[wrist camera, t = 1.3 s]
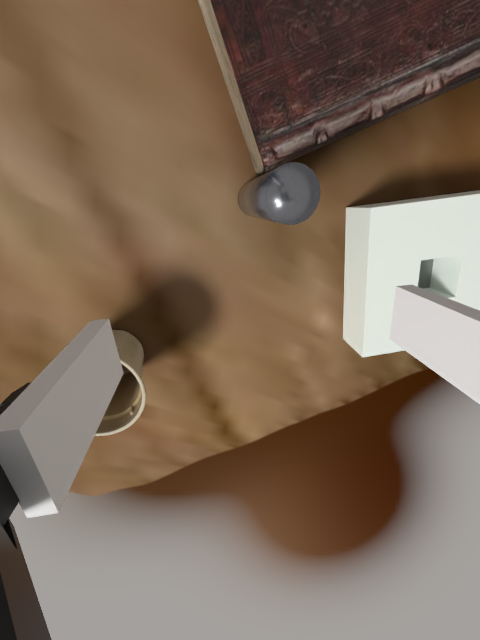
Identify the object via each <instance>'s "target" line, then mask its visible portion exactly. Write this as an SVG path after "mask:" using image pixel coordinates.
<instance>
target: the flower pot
mask: <svg viewBox="0 0 480 640" xmlns="http://www.w3.org/2000/svg"><path fill="white" fill-rule="evenodd" d="M112 332H113V336H114V339H115V343H116V347H117V351H118V354H119V358H120V362H121V365H122V369H123V376H122V378H121V380H120V382H119V384H118V386H117V388H116V391H115V393H114V395H113V397H112V399H111V401H110V403H109V406H108V408H107V410H106V412H105V414H104V416H103V418H102V421H101V423H100V425H99V427H98V429H97V431H96V434H95V436H104V435H111V434H115V433H118V432H120V431H123V430H124V429H126V428H128V427H130V426H131V425H132V424H133V423H134V422H135V421H136V420H137V419H138V418H139V417H140V415H141V413H142V412H143V409H144V406H145V402H146V390H145V386H144V383H143V381H142V367H143V359H144V352H143V348H142V345H141V343H140V342H139V341H138V339H137V338H136V337H134V336H133V335H132V334H130V333H128V332H126V331H123V330H112ZM50 363H51V362H50ZM50 363H49V364H50ZM49 364H48V365H49ZM48 365H47V366H48ZM47 366H46V367H47ZM46 367H45V368H46Z"/></svg>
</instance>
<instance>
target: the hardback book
mask: <svg viewBox="0 0 480 640" xmlns="http://www.w3.org/2000/svg"><path fill="white" fill-rule="evenodd" d="M198 2H199V5H200V8H201V11H202V14H203V17H204V20H205V23H206V26H207V29H208V32H209V35H210V38H211V41H212V44H213V47H214V50H215V53H216V56H217V58H218V61H219V64H220V67H221V70H222V73H223V76H224V79H225V82H226V85H227V88H228V91H229V94H230V97H231V100H232V103H233V106H234V109H235V112H236V115H237V118H238V121H239V124H240V127H241V130H242V133H243V136H244V139H245V141H246V144H247V147H248V150H249V153H250V156H251V159H252V162H253V165H254V168H255V171H256V174H257V175H260V174H263V173H265V172H267V171H269V170H272V169H274V168H276V167H278V166H281V165H283V164H285V163H287V162H290V161H292V160H294V159H296V158H299V157H301V156H303V155H306V154H308V153H310V152H312V151H315V150H317V149H319V148H321V147H324V146H326V145H328V144H330V143H333V142H335V141H337V140H339V139H342V138H344V137H346V136H349V135H351V134H353V133H355V132H358V131H360V130H362V129H364V128H367V127H369V126H371V125H373V124H376V123H378V122H380V121H382V120H385V119H387V118H389V117H392V116H394V115H396V114H398V113H401V112H403V111H405V110H407V109H410V108H412V107H414V106H416V105H419V104H421V103H423V102H426V101H428V100H430V99H432V98H435V97H437V96H439V95H441V94H444V93H446V92H448V91H450V90H453V89H455V88H457V87H459V86H462V85H464V84H466V83H469V82H471V81H473V80H475V79H478V78H480V0H198Z"/></svg>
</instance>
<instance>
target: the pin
mask: <svg viewBox="0 0 480 640" xmlns="http://www.w3.org/2000/svg"><path fill="white" fill-rule="evenodd" d="M319 199H320V184H319V181H318V178H317V176H316V174H315V173H314V172H313V170H312V169H310V168H309V167H308V166H306V165H304V164H302V163H297V162H291V163H286V164H284V165H282V166H280V167H278V168H276V169H274V170H272V171H270V172H268V173H266V174H263V175H261V176H259V177H257V178H255V179H253V180H251V181H249V182H247V183H246V184H244V185H243V186H242V188H241V189H240V191H239V194H238V204H239V207H240V209H241V210H242V211H243V212H244V213H245V214H247V215H249V216H253V217H257V218H261V219H266V220H270V221H274V222H278V223H282V224H287V225H294V224H298V223H301V222H303V221H305V220H306V219H308V218H309V217H310V216H311V215H312V214H313V212H314V211H315V209H316V207H317V205H318V203H319Z"/></svg>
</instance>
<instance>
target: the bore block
mask: <svg viewBox="0 0 480 640" xmlns="http://www.w3.org/2000/svg"><path fill="white" fill-rule="evenodd" d="M403 285H414V286H417V287H420V288H422V289H425V290H427V291H430V292H433V293H435V294H438V295H440V296H443V297H446V298H448V299H451V300H453V301H456V302H459V303H461V304H464V305H466V306H469V307H472V308H474V309H477V310H479V311H480V190H477V191H469V192H461V193H454V194H446V195H438V196H431V197H423V198H415V199H407V200H400V201H392V202H384V203H377V204H369V205H361V206H353V207H346V233H345V274H344V316H343V339H344V340H345V341H346V342H347V343H348V344H349V345H350V346H351V347H352V348H353V349H354V350H355V351H356V352H357V353H358V354H360V355H361V356H362V357H368V356H374V355H380V354H386V353H392V352H398V351H404V349H403V348H401V347H400V346H398V345H397V344H396V343H394V342H393V341H391V340H390V339H389V338H390V330H391V323H392V315H393V308H394V300H395V293H396V286H403Z"/></svg>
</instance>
